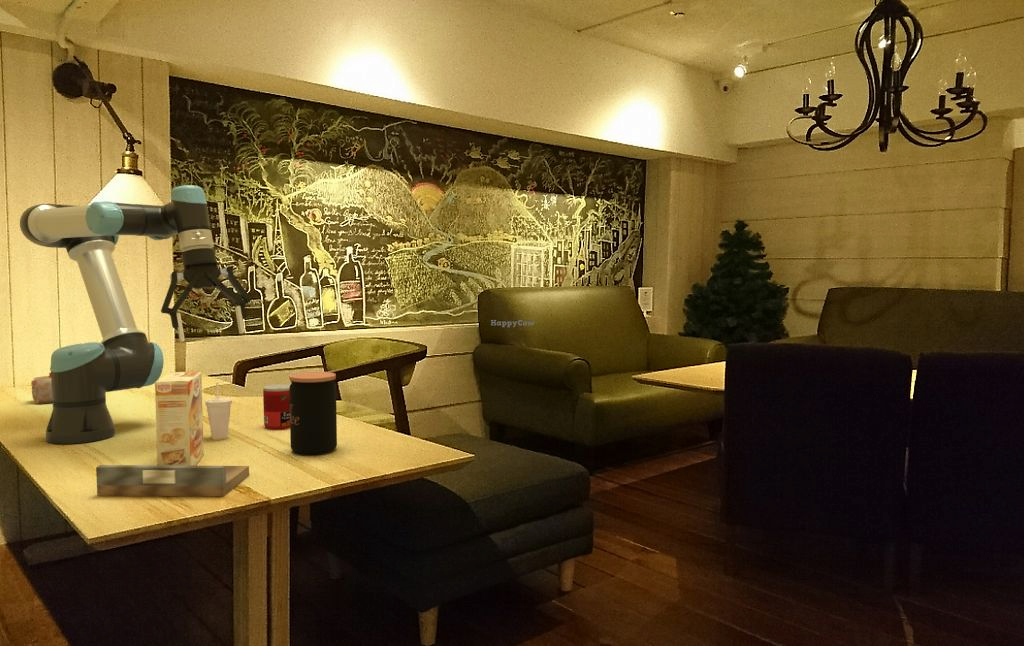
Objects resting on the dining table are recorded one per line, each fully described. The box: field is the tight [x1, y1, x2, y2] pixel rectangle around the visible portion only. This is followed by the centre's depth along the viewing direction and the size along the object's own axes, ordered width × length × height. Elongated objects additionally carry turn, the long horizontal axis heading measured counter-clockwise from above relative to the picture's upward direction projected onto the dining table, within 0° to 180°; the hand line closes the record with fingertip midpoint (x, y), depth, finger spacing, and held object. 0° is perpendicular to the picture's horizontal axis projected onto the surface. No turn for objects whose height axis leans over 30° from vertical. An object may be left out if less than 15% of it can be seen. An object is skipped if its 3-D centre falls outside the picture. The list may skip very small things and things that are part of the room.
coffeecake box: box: [154, 371, 205, 466], centre depth 165 cm, size 15×7×20 cm, turn 12°
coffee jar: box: [289, 371, 338, 456], centre depth 177 cm, size 11×11×18 cm
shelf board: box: [95, 464, 250, 497], centre depth 150 cm, size 24×14×6 cm, turn 90°
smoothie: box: [204, 382, 233, 441], centre depth 189 cm, size 6×6×14 cm
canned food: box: [262, 383, 291, 431], centre depth 202 cm, size 8×8×11 cm
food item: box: [30, 371, 53, 405], centre depth 238 cm, size 14×8×10 cm, turn 122°
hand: (212, 337), depth 180 cm, fingers open, 13 cm apart
